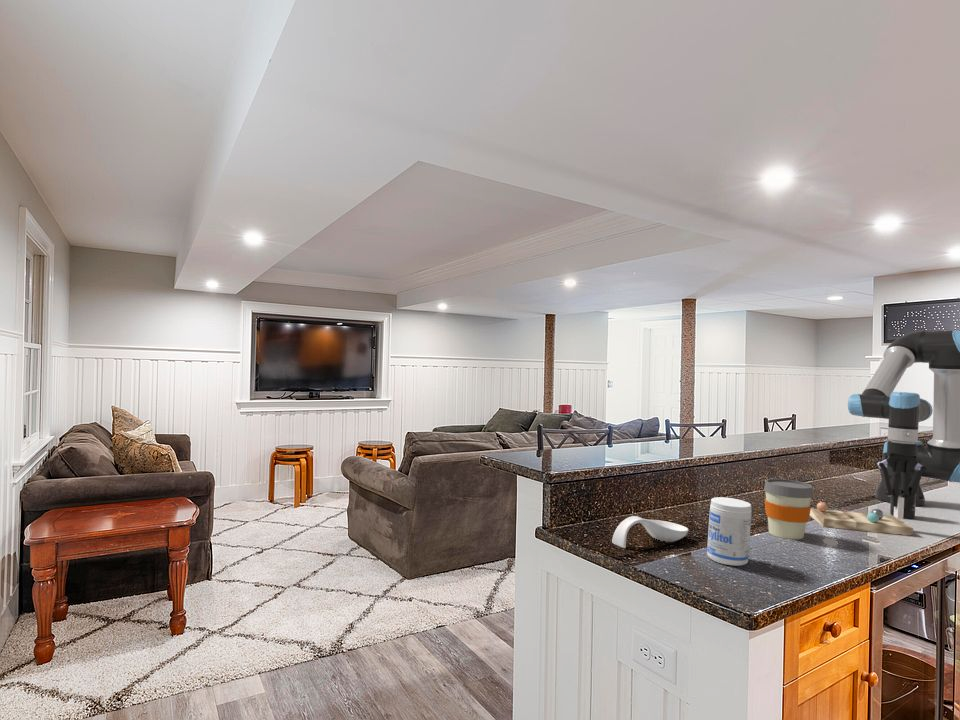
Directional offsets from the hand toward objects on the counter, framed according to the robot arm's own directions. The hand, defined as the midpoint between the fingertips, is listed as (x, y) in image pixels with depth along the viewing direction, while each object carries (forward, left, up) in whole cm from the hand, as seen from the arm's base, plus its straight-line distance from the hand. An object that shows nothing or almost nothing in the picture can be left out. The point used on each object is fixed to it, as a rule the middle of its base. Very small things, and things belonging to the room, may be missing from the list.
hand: (898, 517), depth 175 cm
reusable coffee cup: (+37, +20, -4) cm, 42 cm away
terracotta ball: (+20, -3, 0) cm, 20 cm away
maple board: (+11, 0, -4) cm, 11 cm away
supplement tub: (+58, +50, -4) cm, 76 cm away
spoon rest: (+76, +42, -4) cm, 87 cm away
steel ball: (+6, 0, 0) cm, 6 cm away
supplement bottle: (-9, -19, -4) cm, 22 cm away
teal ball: (+9, +5, 0) cm, 10 cm away
